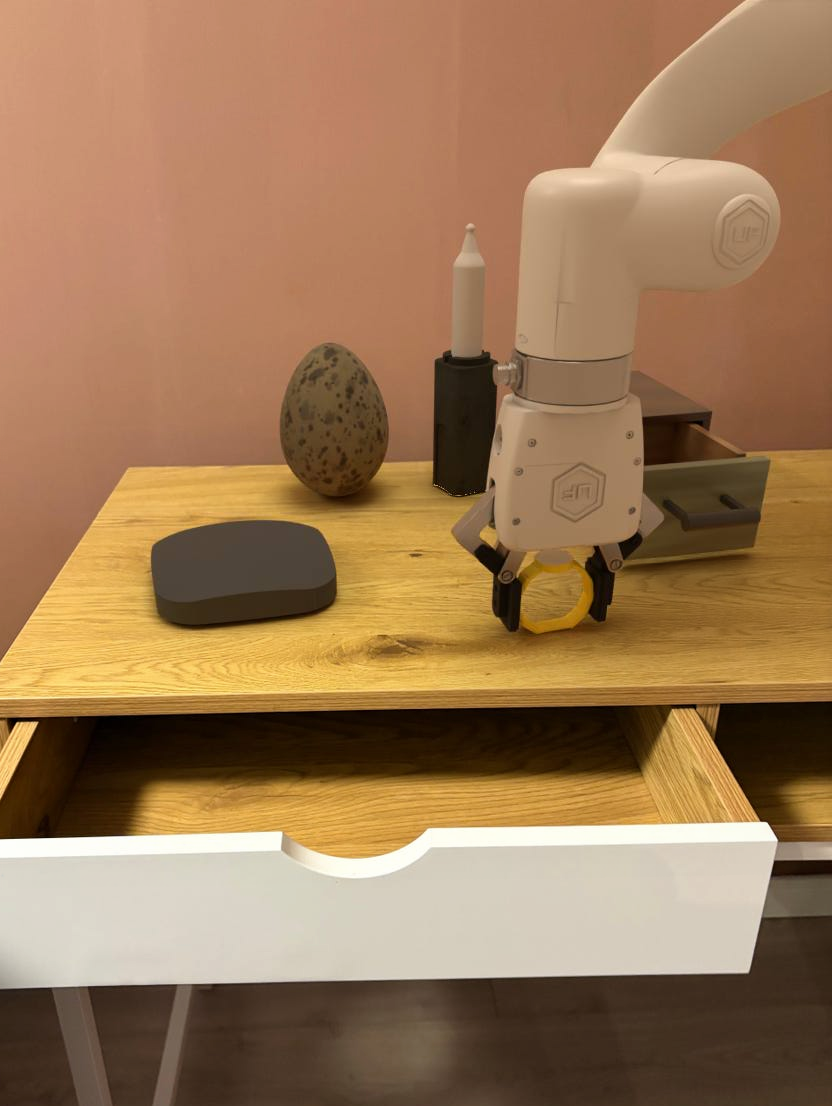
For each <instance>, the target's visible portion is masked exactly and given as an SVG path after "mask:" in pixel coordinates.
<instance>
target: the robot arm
mask: <svg viewBox="0 0 832 1106" xmlns="http://www.w3.org/2000/svg"><path fill="white" fill-rule="evenodd" d="M829 91H830V92H831V91H832V0H744V1H743V2H741V3H740V4H738V5H737V6H736V7H735V8H733V9H732V10H731V11H730V12H729V13H727V14H726V15H725V16H723V18H721V19H720V20H719V21H718V22H717V23H716V24H714V26H713V27H711V28H710V29H709V30H708V31H706V32H705V33H703V35H702V36H701V37H700V38H699V39H697V40H696V41H695V42H694V43H692V44H691V45H690V46H689V47H687V48H686V49H685V50H684V51H683V52H682V53H681V54H679V55H678V56H677V57H676V58H675V59H673V60H672V61H671V63H669V64H668V65H667V66H666V67H665V68H663V70H661V71H660V73H658V75H656V76H655V78H653V79H652V81H651V82H649V83H648V85H647V86H646V87H644V89H643V91H642V92H641V93H640V94H639V95H638V96H637V97H636V98H635V100H634V101H633V103H632V104H631V105H630V106H629V108H628V109H627V110H626V112H625V114H624V115H623V116H622V118H621V120H620V121H619V122H618V123H617V125H616V126H615V128H614V130H613V131H612V133H611V134H610V135H609V137H608V138H607V140H606V141H605V143H604V144H603V145H602V147H601V148H600V150H599V152H598V154H597V155H596V156H595V158H594V160H593V162H592V163H591V164H590V166H589V167H568V168H567V167H566V168H557V169H552V170H547V171H543V172H541V173H539V174H537V175H536V176H534V177H533V178H532V179H531V180H530V182H529V183H528V185H527V186H526V189H525V192H524V195H523V203H522V216H521V218H522V219H521V232H520V233H521V234H520V235H521V236H520V252H519V268H518V269H519V270H518V287H517V288H518V289H517V305H516V322H515V323H516V324H515V341H514V348H512V349H511V356H510V359H509V360H508V361H505V362H504V363H498V364H495V365H494V368H493V381H494V384H495V385H497V386H503V385H505V387H509V389H510V390H511V391H512V393H508V394H505V395H504V396H503V398H502V401H501V405H500V409H499V412H498V415H497V419H496V426H495V433H494V438H493V443H492V449H491V455H490V462H489V469H488V477H487V486H486V491H485V492H484V494H483V495H482V496H481V497H480V498H479V499H478V500H477V501H476V502H475V503H474V505H472V506H471V507H470V508H469V509H468V510H467V511H466V512H465V514H464V515H463V516H462V517H461V518H460V519H459V520H458V521H457V522H456V523H455V524H454V525H453V526H452V528H451V531H450V533H451V535H452V537H453V538H454V539H455V541H456V543H458V544H459V545H460V546H461V547H462V548H464V550H465V551H467V552H468V553H469V554H471V555H472V556H473V557H474V558H475V559H476V560H477V561H478V562H479V563H480V564H481V565H482V566H484V567H485V568H486V569H487V570H488V571H489V572H490V573H491V574H492V575H493V576H492V591H491V592H492V595H491V610H492V613H493V615H494V616H495V618H498V619H499V620H500V621H501V623H502V624H503V626H504V627H505V629H506V631H507V632H508V633H514V632H517V631H518V630H520V624H521V622H520V608H521V609H522V601H521V593H522V585H521V583H520V581H519V580H518V579H517V577H518V576H517V575H518V573H519V570H520V567H521V566H522V564H523V562H524V560H525V557H526V556H527V554H528V553H533V552H540V551H546V550H566V549H576V548H585V547H591V550H592V555H591V556H588V557H587V560H586V561H585V562H584V569H585V570H586V572H587V573H588V574H589V576H590V577H591V579H592V582H593V587H594V597H593V602H592V604H591V606H590V609H589V611H588V613H587V614H588V615H589V616H590V617H591V618H592V619H593V621H594V622H597V623H605V622H606V621H607V617H608V616H607V615H608V606H611V605H612V604H613V597H614V589H615V581H616V573H619V572H620V571H622V569H623V568H624V565H625V561H624V560H625V559H626V558H627V557H628V556H629V555H631V554H632V553H633V552H634V551H635V550H636V549H637V548H638V547H639V546H640V545H641V543H642V541H643V538H644V537H647V536H648V535H649V534H650V533H651V532H652V531H653V530H654V529H655V528H657V527H658V526H659V525H660V524H661V523H662V522H663V520H664V515H663V513H662V512H661V511H660V510H659V509H658V508H657V507H656V506H655V505H654V503H653V502H652V501H651V500H650V499H649V498H648V497H647V496H646V495H645V494H644V493H643V468H644V448H643V425H642V412H641V404H640V399H639V397H637V396H636V395H633V394H631V393H629V383H630V374H631V371H632V364H633V357H634V349H635V348H634V347H635V337H636V331H637V330H636V329H637V321H638V313H639V303H640V295H641V294H642V293H643V292H645V291H650V290H652V291H674V292H687V293H710V292H715V291H716V292H717V291H720V290H721V291H722V290H724V289H727V288H730V287H733V286H734V285H738V284H739V283H741V282H743V281H744V280H746V279H748V277H750V276H751V275H753V274H754V273H755V272H756V271H757V270H758V269H759V268H761V266H762V265H763V263H764V262H765V261H766V260H767V259H768V257H769V256H770V254H771V253H772V251H773V249H774V247H775V245H776V243H777V240H778V237H779V233H780V229H781V228H780V227H781V220H782V219H781V217H782V216H781V207H780V203H779V199H778V196H777V194H776V192H775V190H774V188H773V186H771V184H770V182H769V181H768V180H767V179H766V178H765V177H764V176H763V175H761V174H760V173H758V172H757V171H756V170H754V169H752V168H750V167H748V166H746V165H743V164H740V163H737V162H732V161H726V160H715V159H714V160H713V159H711V158H712V157H713V156H714V155H715V154H716V153H717V152H718V151H720V150H721V149H722V148H723V147H724V146H726V145H727V144H728V143H729V142H731V141H732V140H733V139H735V138H736V137H737V136H739V135H740V134H741V133H744V132H745V131H746V130H748V129H749V128H751V127H753V126H755V125H756V124H758V123H760V122H762V121H764V120H766V119H768V118H770V117H773V116H774V115H776V114H778V113H780V112H781V113H782V112H783V111H785V110H789V109H790V108H792V107H795V106H797V105H800V104H803V103H805V102H808V101H809V100H812V99H814V98H817V97H819V96H821V95H824V94H826V93H828V92H829ZM630 511H631V512H630ZM486 526H488V527H489V528H491V529H493V530H495V533H496V537H497V539H496V541H495V544H493V545H494V546H491V544H490V543H488V542H487V541H486V540H485V539H483V538H482V537H481V532H482V531H483V530H484V529H485V528H486ZM582 592H583V588H582V591H581V593H582Z"/></svg>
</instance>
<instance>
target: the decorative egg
mask: <svg viewBox="0 0 832 1106" xmlns="http://www.w3.org/2000/svg"><path fill="white" fill-rule="evenodd" d="M388 418H389V417H388V413H387V409H386V405H385V401H384V398H383V395H382V393H381V390H380V388H379V386H378V384H377V382H376V380H375V379H374V376H373V375H372V374H371V372H370V370H369V369H368V368H367V366H366V365H365V363H364V362H363V361H362V360H361V359H360V357H358V356H357V355H356V354H355V353H354V352H353V351H352V350H350V349H349V348H348V347H345V345H342V344H340V343H336V342H324V343H320V344H318V345H316V346H314V347H313V348H312V349H311V350H309V351H308V353H307V354H305V356H304V357H303V358H301V360H300V362H299V363H298V365H297V366H296V368H295V370H294V372H293V374H292V375H291V377H290V379H289V382H288V383H287V386H286V389H285V392H284V396H283V398H282V404H281V408H280V415H279V441H280V447H281V450H282V454H283V457H284V459H285V461H286V464H287V466H288V468H289V469H290V471H291V472H292V473H293V475H294V476H295V477H296V478H297V480H298V481H299V482H301V484H303V485H304V486H305V487H307V489H309V490H311V491H312V492H315V493H317V494H320V495H322V496H325V497H345V496H349V495H352V494H354V493H356V492H358V491H360V490H361V489H362V488H364V487H366V486H367V485H368V484H369V483H370V482H371V481H372V480H373V478H375V476H376V475H377V473H378V472H379V470H380V469H381V467H382V465H383V463H384V461H385V458H386V454H387V451H388V447H389V440H390V439H389V437H390V430H389V429H390V428H389V419H388Z"/></svg>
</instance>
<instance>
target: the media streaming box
mask: <svg viewBox="0 0 832 1106" xmlns="http://www.w3.org/2000/svg"><path fill="white" fill-rule="evenodd" d="M336 567H337V566H336V563H335V559H334V557H333V552H332V550H331V548H330V545H329V543H328V541H327V539H326V537H325V536H324V534H323V533H322V532H321V531H320V529H318V528H316V527H314V526H311V525H307V524H304V523H300V522H299V523H298V522H295V521H287V520H280V519H279V520H278V519H246V520H232V521H224V522H216V523H211V524H205V525H201V526H195V527H191V528H188V529H183V530H180V531H177V532H175V533H172V534H170V535H167V536H165V537H163V538H162V539H159V540H158V541H156V542H155V543H154V544H152V545H151V550H150V569H151V570H150V571H151V578H152V579H151V580H152V584H153V592H154V599H155V606H156V612H157V613H158V615H159V616H160V617H162V618H163V619H165V620H166V621H169V622H173V623H176V624H182V625H195V626H197V625H209V624H220V623H229V622H230V623H231V622H240V621H250V620H258V619H259V620H260V619H265V618H267V619H268V618H276V617H282V616H289V615H297V614H304V613H310V612H313V611H317V610H319V609H321V608H324V607H326V606H327V605H329V604H330V603H331V602H333V601H334V600H335V598H336V597H337V593H338V583H337V568H336Z"/></svg>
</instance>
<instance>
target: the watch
mask: <svg viewBox="0 0 832 1106" xmlns="http://www.w3.org/2000/svg"><path fill="white" fill-rule="evenodd" d="M571 569H572V570H575V571H577V572H578V573H579V574H580V576H581V581H582V582H581V583H582V589H583V592H582V591H581V595H580V597H579V599H578V602H577V604H576V605H575V606H574V608H573V609H571V611H569V612H568V613H567V615H565V616H562V617H556V618H551V619H546V620H540V621H536V622H533V621H531V620H530V619H528V618H527V617H525V616H524V614H523V612H522V607H521V608H520V624H521V626H523V628H525V629H526V630H528V631H530V632H531V633H533V634H535V635H539V634H544V633H549V632H554V631H559V630H560V631H561V630H566V629H573V628H576V626H577V625H578V624H579V623H581V621H582V620H583V619H584V618H585V617H586V616H587V614H589V613H588V611H589V609H590V606H591V604H592V602H593V597H594V587H593V582H592V579H591V577H590V576H589V574H588V573H587V572H586V570H585V567H584V566H582V564H580V562H579V561H578V560H576V559H574V556H573V554H572V553H570V552H569V551H566V550H564V549H557V550H546V551H537V552H536V554H534V556H533V561H532V562H531V563H530V564H528V565H527V566H525V568H523V569H522V570H521V572H519V574H518V576H517V579H518V580H519V581H520V583H521V585H522V593H521V602H522V601H523V600H522V597H523V595H524V593H525V591H526V589H527V587H528V586H529V584H530V583H531V581H532V580H534V579H535V578H536V577H538V575H540V574H541V573H547V574H561V573H566V572H568V571H570V570H571Z"/></svg>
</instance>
